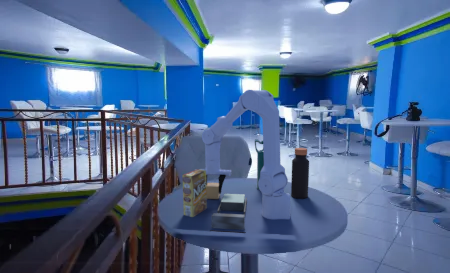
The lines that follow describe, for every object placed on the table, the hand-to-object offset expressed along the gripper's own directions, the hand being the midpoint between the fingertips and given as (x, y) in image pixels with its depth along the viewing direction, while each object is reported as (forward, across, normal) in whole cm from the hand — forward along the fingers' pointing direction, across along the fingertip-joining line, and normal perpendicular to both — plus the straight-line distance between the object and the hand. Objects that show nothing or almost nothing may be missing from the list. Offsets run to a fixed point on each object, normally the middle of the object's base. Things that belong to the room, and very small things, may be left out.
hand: (213, 192), depth 115 cm
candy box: (+3, +4, +15) cm, 16 cm away
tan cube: (+2, 0, 0) cm, 2 cm away
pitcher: (+3, -21, -17) cm, 27 cm away
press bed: (+3, -9, +15) cm, 18 cm away
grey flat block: (+2, -9, +8) cm, 12 cm away
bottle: (+3, -35, -8) cm, 36 cm away
